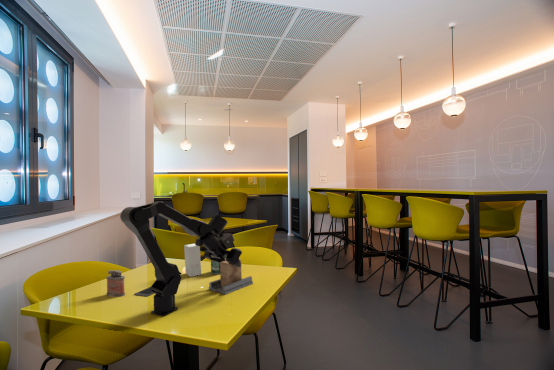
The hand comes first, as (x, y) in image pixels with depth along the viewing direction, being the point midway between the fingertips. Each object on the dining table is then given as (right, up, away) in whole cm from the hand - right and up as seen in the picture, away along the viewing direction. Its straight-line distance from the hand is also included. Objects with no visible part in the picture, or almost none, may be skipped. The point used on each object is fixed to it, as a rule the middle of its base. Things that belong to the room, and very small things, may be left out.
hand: (233, 264), depth 124 cm
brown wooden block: (-1, -8, -1) cm, 8 cm away
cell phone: (-34, -11, -3) cm, 35 cm away
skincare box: (-23, -10, +19) cm, 32 cm away
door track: (-1, -9, -1) cm, 9 cm away
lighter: (-47, -10, -7) cm, 49 cm away
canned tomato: (-11, -10, +22) cm, 26 cm away
